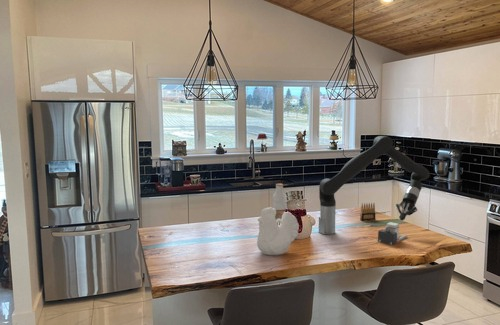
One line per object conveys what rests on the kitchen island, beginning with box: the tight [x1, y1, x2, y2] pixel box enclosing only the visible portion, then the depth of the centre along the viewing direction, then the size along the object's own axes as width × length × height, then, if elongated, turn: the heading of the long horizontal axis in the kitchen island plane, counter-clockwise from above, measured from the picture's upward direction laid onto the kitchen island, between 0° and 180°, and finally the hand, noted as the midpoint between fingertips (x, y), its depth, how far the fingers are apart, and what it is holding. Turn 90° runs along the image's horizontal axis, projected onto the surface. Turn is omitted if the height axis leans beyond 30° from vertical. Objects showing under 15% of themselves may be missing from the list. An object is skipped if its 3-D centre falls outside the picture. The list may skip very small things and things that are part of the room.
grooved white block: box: [385, 221, 400, 238], centre depth 223 cm, size 5×5×9 cm
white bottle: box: [271, 183, 288, 225], centre depth 257 cm, size 9×9×28 cm
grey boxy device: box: [377, 225, 408, 246], centre depth 224 cm, size 18×9×10 cm, turn 134°
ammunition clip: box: [359, 202, 376, 222], centre depth 272 cm, size 11×2×12 cm, turn 104°
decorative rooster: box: [256, 207, 300, 256], centre depth 208 cm, size 25×16×25 cm, turn 108°
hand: (401, 219), depth 230 cm, fingers closed
